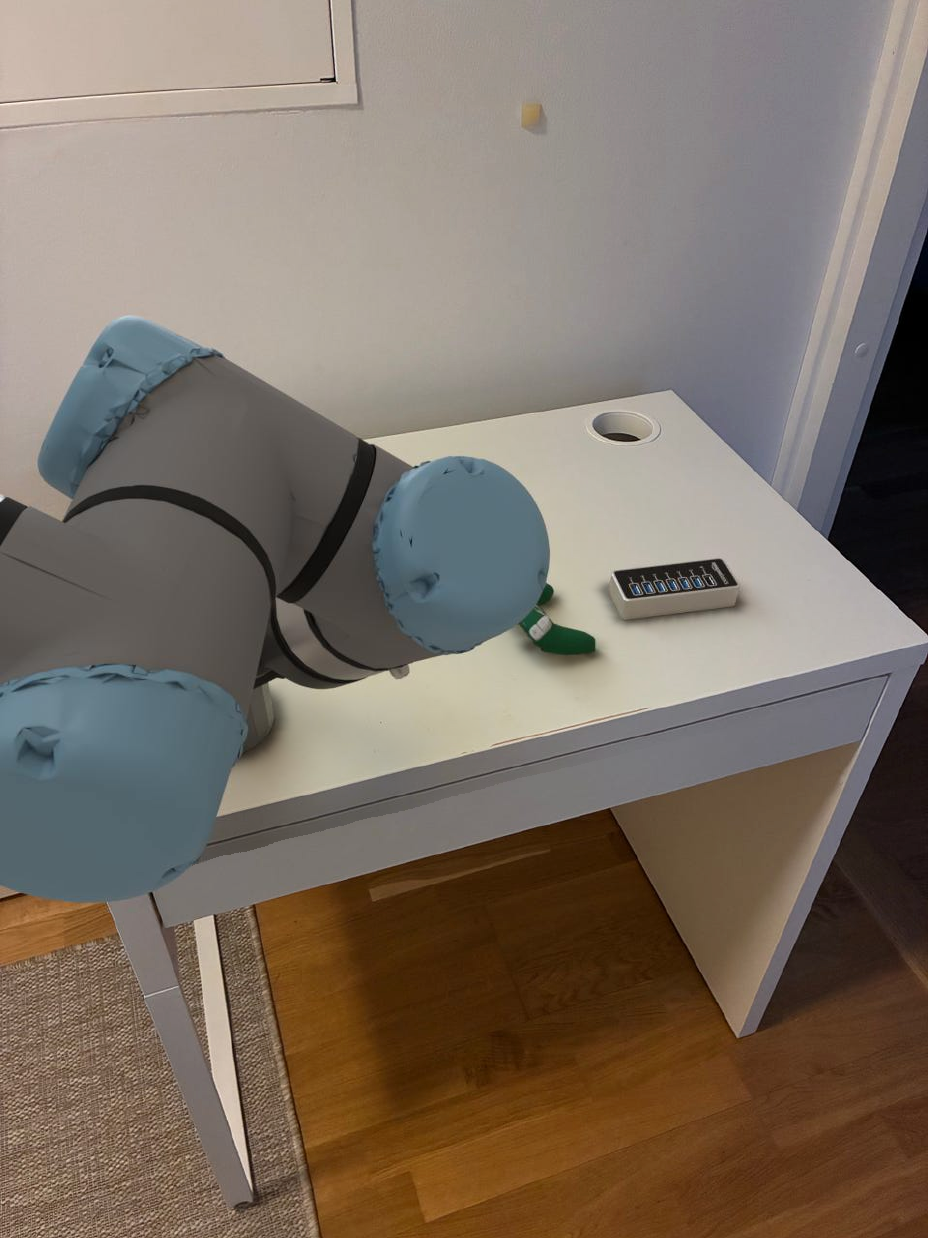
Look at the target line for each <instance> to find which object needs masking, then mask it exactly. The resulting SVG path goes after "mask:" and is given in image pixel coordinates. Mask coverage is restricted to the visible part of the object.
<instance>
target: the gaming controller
mask: <svg viewBox="0 0 928 1238" xmlns="http://www.w3.org/2000/svg"><path fill="white" fill-rule="evenodd" d="M554 593H555V590H554V588H553V586H552V585H551V584H550V583H548V582H546V586H545V588H544V589H543V591H542V594H541V596H540V598H539V600H538V602H537V604H536V605H535V607H534V608H533V609H532V610H531V612H530V613H529V614H528V615H527V616H526V617H525V618H524V619H523V620H522V621H521V622H520V623H518V625H519V626H520V628H521V629H522V630H523V632H524V633H525V634H526V637H528V638H529V639H530V640H531V642H532V644H533V645H534V646H535V647H538V648H539V649H540V650H541V651H542V652H544V653H549V654H553V655H561V656H581V655H585V654H590V653H595V652H596V638H595V637H594V636H592V635H591V634H589V632H586V631H583V630H579V629H575V628H571V627H567V626H562V625H559V624H557V623H554V622H553V621H552V619H551V618H550V617H549V616H548V614H547V613H546V612H545V611H544V609H543V608H542V607H541V606H543V605H545V604H548V602H550V601H551V599H552V598H553V596H554Z"/></svg>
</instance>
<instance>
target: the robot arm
mask: <svg viewBox="0 0 928 1238" xmlns="http://www.w3.org/2000/svg"><path fill="white" fill-rule="evenodd" d="M82 363H83V364H82V365H80V367H79V369H78V370H77V372H76V373H75V376H74V377H73V380H72V381H71V383H70V385H69V387H68V389H67V391H66V393H65V395H64V397H63V399H62V401H61V403H60V405H59V406H58V409H57V411H56V413H55V415H54V417H53V420H52V421H51V424H50V425H49V427H48V431H47V432H46V435H45V438H44V439H43V442H42V443H41V447H40V450H39V453H38V456H37V470H38V473H39V475H40V476H41V477H42V479H43V481H45V483H47V485H49V486H50V487H52V488H53V489H55V490H56V491H58V492H59V493H61V494H63V495H64V496H66V497H67V498H69V499H70V500H71V502H70V504H69V505H68V508H67V510H66V512H65V514H64V516H63V518H62V520H60V519H58V518H56V517H54V516H52V515H50V514H48V513H45V512H44V511H41V510H39V509H37V508H35V507H33V506H30V505H29V506H28V505H26V504H24V503H22V502H20V501H17V500H15V499H13V498H11V497H10V496H7V495H6V496H5V495H4V494H2V493H0V886H1V887H3V888H6V889H9V890H12V891H15V892H17V893H21V894H25V895H28V896H31V897H36V898H40V899H45V900H50V901H60V902H66V903H76V904H97V903H98V904H99V903H111V902H117V901H124V900H130V899H134V898H137V897H142V896H144V895H148V894H150V893H152V892H155V891H158V890H159V889H161V888H163V887H165V886H168V885H169V884H171V883H172V882H174V881H175V880H176V879H178V878H179V877H181V876H182V875H184V873H186V871H187V870H188V869H189V868H190V867H192V865H194V864H197V863H198V862H199V861H200V859H201V856H202V855H203V853H204V850H205V848H206V847H207V845H208V843H209V840H210V838H211V836H212V832H213V829H214V825H215V822H216V819H217V817H218V813H219V810H220V807H221V804H222V800H223V798H224V794H225V791H226V788H227V785H228V782H229V779H230V775H231V772H232V770H233V768H234V767H235V765H237V763H238V762H239V760H240V758H241V756H242V754H243V753H242V750H243V743H244V741H245V740H246V737H247V732H248V725H247V722H246V720H247V716H248V711H249V706H250V702H251V697H252V693H253V690H254V689H256V688H258V687H260V686H262V685H264V684H266V683H268V684H269V683H270V682H272V681H274V680H276V679H280V680H284V679H287V680H288V681H290V682H291V683H293V684H295V685H298V686H301V687H304V688H308V689H314V690H329V689H335V688H340V687H343V686H347V685H349V684H353V683H357V682H359V681H361V680H362V681H363V680H365V679H367V678H369V677H372V676H376V675H379V674H381V673H384V672H388V671H389V674H390V676H391V677H393V678H394V680H402V679H404V678H405V677H407V676H408V675H409V674H410V672H411V671H410V667H409V665H410V664H413V663H416V662H420V661H425V660H428V659H432V658H437V657H440V656H449V655H461V654H464V653H468V652H470V651H472V650H475V649H476V647H479V646H481V645H482V644H484V643H485V642H487V641H489V640H492V639H494V638H496V637H498V636H501V635H503V634H504V633H506V632H508V631H509V630H511V629H513V628H514V627H516V626H517V625H519V623H520V622H521V621H522V620H523V619H524V618H525V617H526V616H527V615H528V614H529V613H530V612H531V610H532V609H533V608H534V607H535V605H536V604H537V602H538V600H539V598H540V596H541V594H542V591H543V589H544V588H545V586H546V583H547V581H548V575H549V572H550V571H549V569H550V564H551V563H550V561H551V548H550V547H551V546H550V539H549V534H548V533H549V532H548V528H547V525H546V522H545V519H544V517H543V515H542V511H541V510H540V508H539V506H538V504H537V502H536V500H535V499H534V498H533V496H532V494H531V493H530V492H529V490H528V489H527V488H526V486H525V485H523V483H522V482H521V481H519V479H518V478H517V477H516V476H515V475H513V474H512V473H511V472H509V471H508V470H507V469H506V468H504V467H502V466H500V465H499V464H496V463H495V462H492V461H490V460H487V459H485V458H477V457H473V456H466V455H455V456H454V455H453V456H452V455H447V456H444V457H441V458H437V459H433V460H432V461H431V460H427V461H423V462H420V463H419V465H414V466H412V465H411V464H409V463H407V462H406V461H404V460H403V459H401V458H399V457H397V456H396V455H393V454H392V453H390V452H388V451H387V450H385V449H384V448H381V447H380V446H378V445H376V444H375V443H369V442H367V441H366V440H363V439H362V438H361V437H358V436H357V435H355V434H354V433H353V432H350V431H349V430H348V429H346V428H344V427H343V426H341V425H339V424H337V423H335V422H334V421H333V420H330V419H329V418H327V417H325V416H323V415H322V414H320V413H318V412H317V411H316V410H313V409H312V408H311V407H309V406H307V405H306V404H303V403H302V402H300V401H299V400H297V399H295V398H293V397H292V396H290V395H288V394H287V393H285V392H283V391H282V390H280V389H278V388H277V387H275V386H273V385H271V384H270V383H268V382H266V381H265V380H263V379H262V378H260V377H258V376H256V375H254V374H252V373H251V372H249V371H248V370H246V369H244V367H243V368H242V367H241V366H239V365H238V364H236V363H235V362H232V361H231V360H229V359H228V358H226V356H225V355H224V354H223V353H221V352H220V351H218V350H216V349H215V348H213V347H211V348H209V347H204V346H202V345H200V344H198V343H196V342H194V341H192V340H190V339H189V338H186V337H184V336H182V335H180V334H178V333H175V332H174V331H172V330H171V329H168V328H165V327H164V326H163V325H160V324H158V323H156V322H154V321H152V320H150V319H148V318H145V317H143V316H137V315H124V316H120V317H118V318H115V319H113V320H112V321H111V322H110V323H108V324H107V325H106V326H105V327H104V328H103V330H102V331H101V332H100V334H99V335H98V337H97V338H96V340H95V341H94V343H93V345H92V346H91V348H90V349H89V351H88V354H87V355H86V357H85V359H84V361H83V362H82Z"/></svg>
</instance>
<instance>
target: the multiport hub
mask: <svg viewBox="0 0 928 1238" xmlns="http://www.w3.org/2000/svg"><path fill="white" fill-rule="evenodd" d="M740 586H741V585H740V582H739V581H738V579H737V578H736V576H735V575H734V573H733V572H732V570H731V569H730V567H729V566H728V564H727V562H726V561H725V559H723V558H722V557H716V558H708V559H706V558H705V559H701V560H700V559H698V560H690V561H684V562H673V563H666V564H658V565H656V564H655V565H648V566H640V567H632V568H624V569H615V570H612V571H611V573H610V580H609V587H608V593H609V596H610V598H611V600H612V602H613V604H614V606H615V608H616V610H617V612H618V615H619V617H620V618H621V619H622V620H624V621H629V620H635V619H643V618H653V617H661V616H667V615H669V616H670V615H676V614H684V613H691V612H701V611H707V610H715V609H723V608H731V607H734V606H735V605H736V601H737V597H738V596H739V595H738V594H739V591H740Z"/></svg>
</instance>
